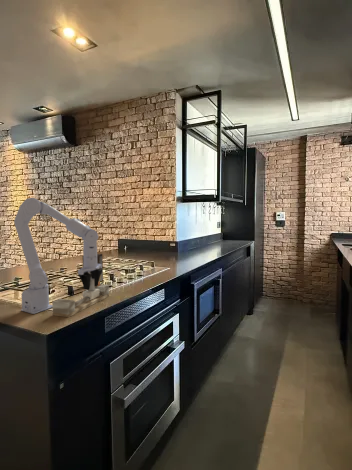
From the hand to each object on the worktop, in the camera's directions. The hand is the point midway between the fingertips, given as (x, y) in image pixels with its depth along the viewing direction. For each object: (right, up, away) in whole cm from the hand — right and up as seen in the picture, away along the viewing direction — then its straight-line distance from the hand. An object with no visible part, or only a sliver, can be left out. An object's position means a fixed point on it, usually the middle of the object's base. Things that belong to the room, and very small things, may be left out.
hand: (91, 287), depth 128 cm
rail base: (-2, -6, -5) cm, 8 cm away
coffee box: (-7, -4, +28) cm, 29 cm away
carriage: (0, -4, 0) cm, 4 cm away
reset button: (+1, -2, +7) cm, 7 cm away
